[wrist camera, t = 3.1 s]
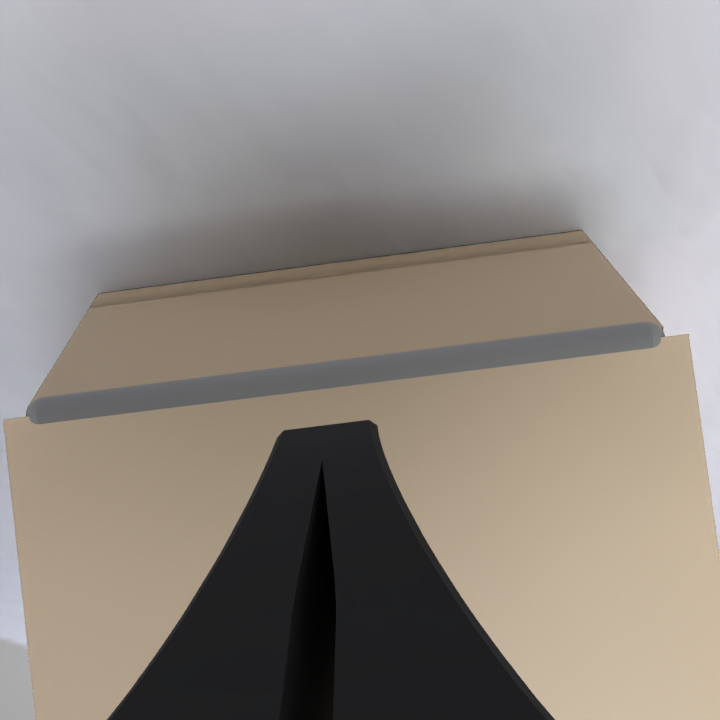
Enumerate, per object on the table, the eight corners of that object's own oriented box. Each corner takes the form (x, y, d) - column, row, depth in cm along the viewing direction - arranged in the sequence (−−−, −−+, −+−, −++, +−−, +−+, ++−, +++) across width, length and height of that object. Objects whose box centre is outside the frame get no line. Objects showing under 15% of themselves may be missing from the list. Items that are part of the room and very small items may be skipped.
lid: (87, 1018, 13) (71, 1054, 13) (19, 400, 14) (-1, 402, 13) (759, 956, 13) (780, 989, 12) (671, 318, 13) (686, 315, 13)
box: (209, 580, 24) (184, 715, 20) (98, 293, 18) (27, 407, 14) (562, 539, 24) (611, 669, 20) (582, 230, 17) (663, 327, 13)
